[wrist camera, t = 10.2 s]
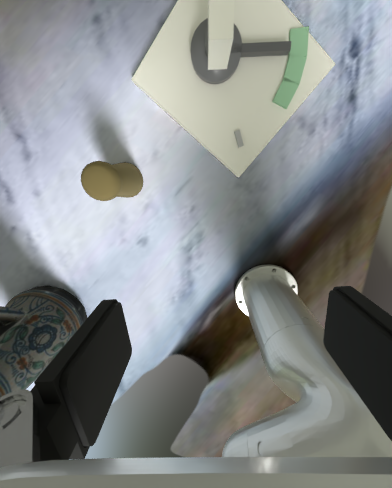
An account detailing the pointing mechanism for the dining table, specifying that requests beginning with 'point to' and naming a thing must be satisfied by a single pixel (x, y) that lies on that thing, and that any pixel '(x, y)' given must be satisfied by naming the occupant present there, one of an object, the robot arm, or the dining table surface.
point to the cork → (111, 180)
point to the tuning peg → (225, 44)
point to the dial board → (233, 79)
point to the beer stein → (35, 333)
